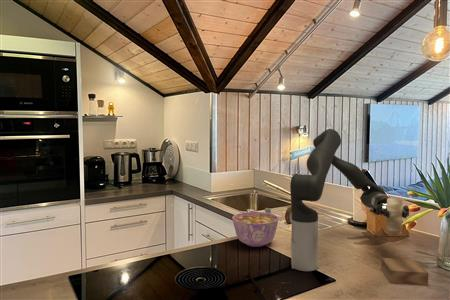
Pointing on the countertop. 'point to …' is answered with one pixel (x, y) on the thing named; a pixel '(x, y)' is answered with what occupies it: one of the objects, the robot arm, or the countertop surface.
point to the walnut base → (404, 271)
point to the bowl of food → (255, 227)
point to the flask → (267, 210)
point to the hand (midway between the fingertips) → (396, 215)
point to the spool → (394, 216)
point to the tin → (288, 215)
